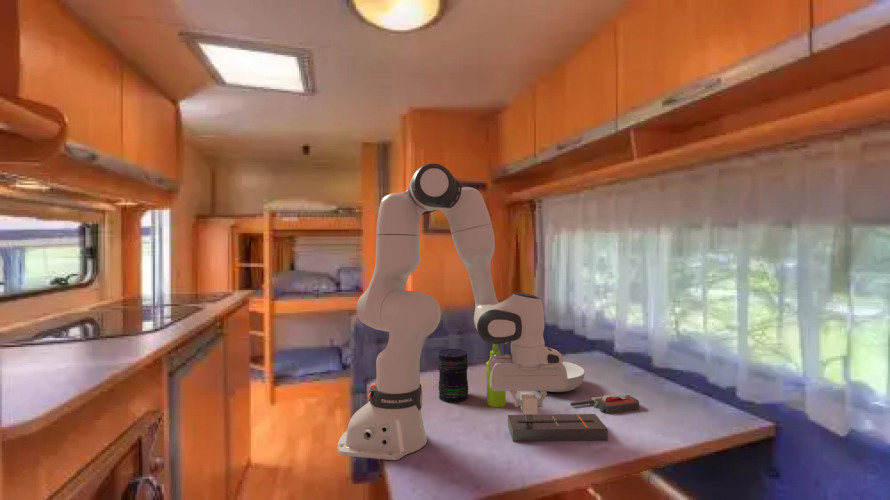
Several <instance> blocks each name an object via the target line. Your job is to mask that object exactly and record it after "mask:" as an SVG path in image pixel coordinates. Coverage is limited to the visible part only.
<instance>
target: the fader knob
mask: <svg viewBox="0 0 890 500" xmlns="http://www.w3.org/2000/svg"><path fill="white" fill-rule="evenodd" d="M519 396H520V397H519V398H520V399H521V407H520V409H521V412H522V415H525V420H526V422H533V415H539V414H538V411H539V410H538V408H539V407H537V397H538V396H536V394H535V393H534V391H519Z"/></svg>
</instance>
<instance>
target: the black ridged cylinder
mask: <svg viewBox="0 0 890 500" xmlns="http://www.w3.org/2000/svg"><path fill="white" fill-rule="evenodd" d="M437 359H438V360H437V364H438V370H439V371H438V372H439V374H438V375H439V380H438V394H439V395H438V399H439V400H440V401H441V402H444V403H448V404H457V403H458V404H459V403H462V402H463V403H464V402H466V401H467V400H468V398H469V395H468V393H469V381H468V367H469V366H468V365H469V360H468V351H467V350H466V349H462V348H445V349H442V350H439V351H438V358H437Z"/></svg>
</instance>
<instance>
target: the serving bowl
mask: <svg viewBox="0 0 890 500" xmlns="http://www.w3.org/2000/svg"><path fill="white" fill-rule="evenodd" d="M562 364H563V365H564V366H565V368H566V371H567V378H568V387H567V388H566V390H547V392H550V393H565V392H571V391H573V390H575V389H577V388H578V387H580V386H581V385H582V383H583V381H584V379H585V373H586V372H585V369H584V368H583V367H582V366H580V365H578V364H575V363H572V362H569V361H564V360H563V363H562Z"/></svg>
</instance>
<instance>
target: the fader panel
mask: <svg viewBox="0 0 890 500" xmlns="http://www.w3.org/2000/svg"><path fill="white" fill-rule="evenodd" d="M532 415H533V422H526V420H525V414H507V426H508V430H509V433H510V437H511V440H512V442H584V441H585V442H589V441H597V442H599V441H609V439H608V438H609V436H608V435H609V434H608V432H609V429H608V427H606V425H605V424H604V423H603V422H602V420H601V419H600V418H599V417H598V416H597V415H596V413H564V414H563V413H562V414H561V413H556V414H553V413H552V414H550V413H549V414H546V413H545V414H543V413H542V414H532Z"/></svg>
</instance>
